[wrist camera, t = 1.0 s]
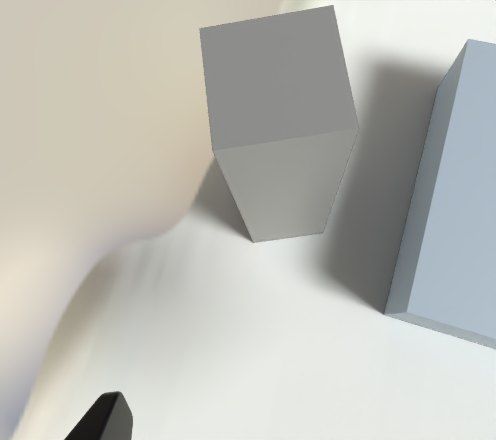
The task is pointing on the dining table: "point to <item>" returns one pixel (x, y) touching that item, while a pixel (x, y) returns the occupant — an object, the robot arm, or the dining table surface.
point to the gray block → (280, 118)
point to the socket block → (454, 209)
